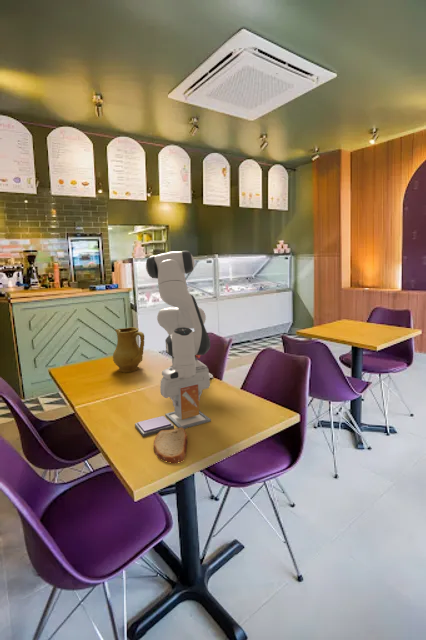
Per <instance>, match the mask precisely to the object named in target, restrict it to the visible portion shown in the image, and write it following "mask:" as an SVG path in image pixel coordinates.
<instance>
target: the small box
mask: <svg viewBox="0 0 426 640" xmlns="http://www.w3.org/2000/svg"><path fill="white" fill-rule="evenodd" d="M174 400H175V401H178V406H175V407H174V411H175V415H176V416H177V417H179V418H180V419H181V420H183V419H186V418H189V417H193V416H197V415H199V411H200V400H199V395H198V384H192V385H187V386H182V387H179V395H177V396H175V399H174Z"/></svg>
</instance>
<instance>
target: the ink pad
mask: <svg viewBox="0 0 426 640" xmlns="http://www.w3.org/2000/svg"><path fill="white" fill-rule="evenodd" d="M134 427H135V429H137V431H138V432H139V433H140V434H141V436H142V437H147V436H151V435H155V434H158V433H159V432H160V431H161V430H173V429H175V424H174V423H173V422H172V421H171V420H170V419H168V418H167V417H166V416H165V415H161V416H157V417H152V418H149V419H145V420H140V421H137V422H134Z"/></svg>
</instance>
